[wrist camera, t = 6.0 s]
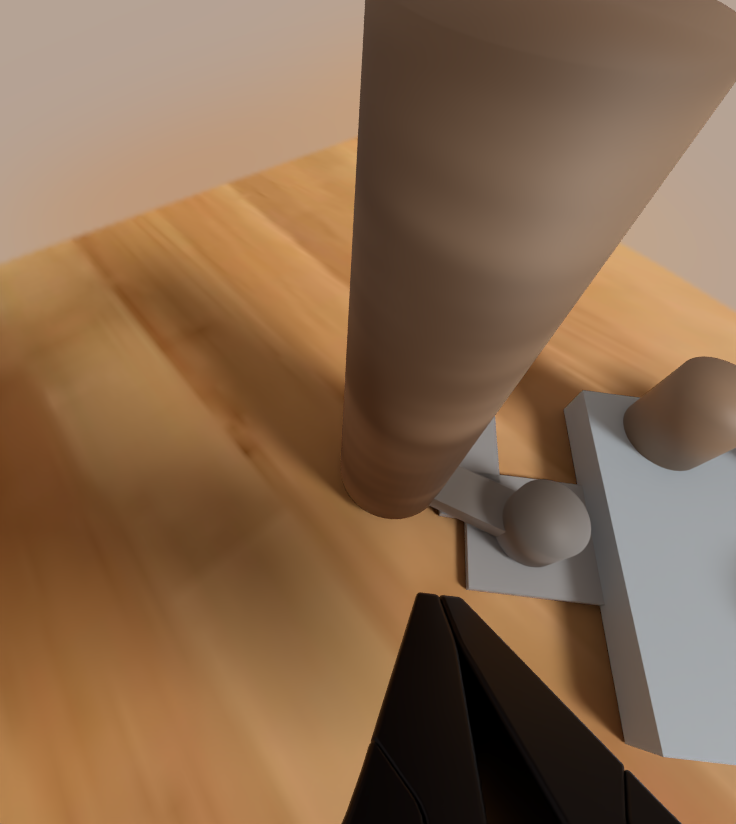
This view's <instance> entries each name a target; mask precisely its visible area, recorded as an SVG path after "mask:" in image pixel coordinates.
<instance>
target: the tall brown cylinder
mask: <svg viewBox="0 0 736 824" xmlns="http://www.w3.org/2000/svg"><path fill="white" fill-rule="evenodd" d="M735 82H736V12H735V11H734V10H732V9H731V8H729V7H728V6H726V5H724V4H723V3H721V2H719V1H717V0H365V15H364V35H363V53H362V71H361V90H360V109H359V129H358V147H357V165H356V184H355V203H354V222H353V241H352V260H351V278H350V297H349V316H348V335H347V354H346V372H345V391H344V410H343V429H342V448H341V477H342V481H343V484H344V487H345V489H346V491H347V492H348V494H349V496H350V497H351V498H352V499H353V501H354V502H355V503H356V504H357V505H358V506H360V507H361V508H362V509H364V510H365V511H367V512H369V513H371V514H373V515H375V516H378V517H382V518H388V519H402V518H407V517H411V516H414V515H416V514H418V513H420V512H421V511H423V510H425V509H426V508H427V507H428V506H431V507H434V508H436V509H438V510H440V511H442V512H444V513H446V514H449V515H451V516H453V517H455V518H457V519H459V520H461V521H464V522H466V523H468V524H470V525H472V526H474V527H476V528H479V529H481V530H483V531H485V532H487V533H489V534H492V535H494V536H496V539H497V541H498V543H499V545H500V546H501V548H502V549H503V550H504V552H505V553H506V554H507V555H508V556H509V557H511V558H512V559H513V560H515V561H516V562H518V563H520V564H522V565H525V566H528V567H544V566H547V565H550V564H553V563H555V562H558V561H561V560H564V559H567V558H569V557H572V556H575V555H577V554H579V553H580V552H581V551H583V549H584V548H585V547H586V546H587V544H588V542H589V540H590V536H591V522H590V518H589V514H588V512H587V510H586V508H585V506H584V504H583V503H582V501H581V500H580V499H579V498H578V496H577V495H576V494H575V493H573V492H572V491H571V490H570V489H569V488H567V487H566V486H564V485H562V484H560V483H558V482H555V481H552V480H546V479H537V480H533V481H530V482H527V483H526V484H524V485H523V486H522V487H520V488H519V489H518V490H517V491H514V490H512V489H510V488H508V487H505V486H503V485H501V484H499V483H496V482H494V481H492V480H490V479H487V478H485V477H483V476H481V475H478V474H476V473H474V472H472V471H469V470H467V469H465V468H463V467H460V466H459V465H460V463H461V462H462V461H463V459H464V458H465V456H466V455H467V454H468V452H469V451H470V449H471V448H472V447H473V445H474V444H475V443H476V441H477V440H478V438H479V437H480V436H481V434H482V433H483V431H484V430H485V429H486V427H487V426H488V425H489V423H490V422H491V420H492V419H493V418H494V416H495V415H496V413H497V412H498V411H499V409H500V408H501V406H502V405H503V404H504V402H505V401H506V400H507V398H508V397H509V395H510V394H511V393H512V391H513V390H514V388H515V387H516V386H517V384H518V383H519V382H520V380H521V379H522V377H523V376H524V375H525V373H526V372H527V370H528V369H529V368H530V366H531V365H532V363H533V362H534V361H535V359H536V358H537V357H538V355H539V354H540V352H541V351H542V350H543V348H544V347H545V345H546V344H547V343H548V341H549V340H550V339H551V337H552V336H553V334H554V333H555V332H556V330H557V329H558V327H559V326H560V325H561V323H562V322H563V320H564V319H565V318H566V316H567V315H568V314H569V312H570V311H571V309H572V308H573V307H574V305H575V304H576V302H577V301H578V300H579V298H580V297H581V296H582V294H583V293H584V291H585V290H586V289H587V287H588V286H589V284H590V283H591V282H592V280H593V279H594V278H595V276H596V275H597V273H598V272H599V271H600V269H601V268H602V266H603V265H604V264H605V262H606V261H607V259H608V258H609V257H610V255H611V254H612V253H613V251H614V250H615V248H616V247H617V246H618V244H619V243H620V241H621V240H622V239H623V237H624V236H625V235H626V233H627V232H628V230H629V229H630V227H631V226H632V225H633V223H634V222H635V221H636V219H637V218H638V216H639V215H640V214H641V212H642V211H643V209H644V208H645V207H646V205H647V204H648V203H649V201H650V200H651V198H652V197H653V196H654V194H655V193H656V191H657V190H658V189H659V187H660V186H661V185H662V183H663V182H664V180H665V179H666V178H667V176H668V175H669V173H670V172H671V171H672V169H673V168H674V167H675V165H676V164H677V162H678V161H679V160H680V158H681V157H682V155H683V154H684V153H685V151H686V150H687V148H688V147H689V145H690V144H691V143H692V142H693V140H694V139H695V137H696V136H697V135H698V133H699V132H700V130H701V129H702V128H703V126H704V125H705V124H706V122H707V121H708V119H709V118H710V117H711V115H712V114H713V112H714V111H715V110H716V108H717V107H718V105H719V104H720V103H721V101H722V100H723V99H724V97H725V96H726V94H727V93H728V92H729V90H730V89H731V87H732V86H733V85H734V83H735Z"/></svg>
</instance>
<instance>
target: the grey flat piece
mask: <svg viewBox="0 0 736 824" xmlns="http://www.w3.org/2000/svg"><path fill="white" fill-rule="evenodd" d="M564 414H565V420H566V425H567V430H568V436H569V441H570V447H571V452H572V458H573V463H574V468H575V474H576V479H577V484H569V483H561V482H558V483H560V484H562V485H564V486H566V487H567V488H569V489H570V490H571V491H572V492H573V493H575V494H576V495H577V496H578V498H579V499H580V500H581V501H582V503H583V504H584V506H585V508H586V510H587V512H588V514H589V518H590V522H591V536H590V540H589V542H588V544H587V546H586V547H585V548H584V549H583V551H581V552H580V553H579V554H577V555H575V556H572V557H569V558H567V559H564V560H561V561H558V562H555V563H553V564H550V565H547V566H544V567H528V566H525V565H522V564H520V563H518V562H516V561H515V560H513V559H512V558H511V557H509V556H508V555H507V554H506V553H505V552H504V550H503V549H502V548H501V546H500V545H499V543H498V541H497V539H496V536H494V535H492V534H489V533H487V532H485V531H483V530H481V529H479V528H476V527H474V526H472V525H470V524H468V523H466V522H464V524H465V562H466V590H474V591H482V592H490V593H499V594H507V595H515V596H523V597H532V598H540V599H548V600H557V601H565V602H573V603H581V604H590V605H598V606H600V609H601V615H602V620H603V626H604V631H605V637H606V642H607V647H608V653H609V658H610V664H611V669H612V675H613V680H614V685H615V691H616V696H617V702H618V707H619V713H620V718H621V723H622V729H623V734H624V740H625V744H628V745H630V746H633V747H636V748H639V749H642V750H645V751H648V752H651V753H654V754H657V755H660V756H662V757H669V758H678V759H687V760H695V761H704V762H713V763H722V764H730V765H736V365H734V364H732V363H730V362H727V361H724V360H721V359H718V358H713V357H695V358H692V359H690V360H688V361H686V362H685V363H684V364H683V365H681V366H680V367H679V368H677V369H676V370H675V371H674V372H672V373H671V374H670V375H669V376H667V377H666V378H665V379H664V380H662V381H661V382H660V383H659V384H657V385H656V386H655V387H653V388H652V389H651V390H650V391H648V392H647V393H646V394H645V395H643V396H642V397H641V398H639V397H631V396H623V395H616V394H608V393H600V392H593V391H585V390H582V391H581V392H580V393H579V394H578V395H577V396H576V397H575V398H574V399H573V400H572V401H571V402H570V404H569V405H568V406H567V407H566V408H565V409H564ZM459 466H460V467H463V468H465V469H467V470H469V471H472V472H474V473H476V474H478V475H481V476H483V477H485V478H487V479H490V480H492V481H494V482H496V483H499V484H501V485H503V486H505V487H508V488H510V489H512V490H514V491H517V490H518V489H519V488H520V487H522V486H523V485H524V484H526V483H527V482H530V481H533V480H537V479H530V478H522V477H514V476H506V475H499V462H498V449H497V436H496V423H495V416H494V418H493V419H492V420H491V422H490V423H489V425H488V426H487V427H486V429H485V430H484V431H483V433H482V434H481V436H480V437H479V438H478V440H477V441H476V443H475V444H474V445H473V447H472V448H471V449H470V451H469V452H468V454H467V455H466V456H465V458H464V459H463V461H462V462H461V463H460V465H459ZM439 516H443V517H451V518H455V517H453V516H451V515H449V514H446V513H444V512H442V511H440V510H439Z"/></svg>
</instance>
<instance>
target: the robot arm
mask: <svg viewBox="0 0 736 824" xmlns="http://www.w3.org/2000/svg"><path fill="white" fill-rule="evenodd" d="M342 824H681V823H680V822H679V821H678V820H677V819H676V818H675V817H674V816H673V815H672V814H671V813H670V812H669V811H668V810H667V809H666V808H665V807H664V806H663V805H662V804H661V803H660V802H659V801H658V800H657V799H656V798H655V797H654V796H653V794H652V793H651V792H650V791H649V790H648V789H647V788H646V787H645V786H644V785H643V784H642V783H641V782H640V781H639V780H638V779H637V778H636V777H635V776H634V775H633V774H632V773H631V772H630V771H629V770H625V771H624V766H623V764H622V763H621V762H620V761H619V760H618V759H617V758H616V757H615V756H614V755H613V754H612V753H611V752H610V750H609V749H608V748H607V747H606V746H605V745H604V744H603V743H602V742H601V741H600V740H599V739H598V738H597V737H596V736H595V735H594V734H593V733H592V732H591V731H590V730H589V729H588V728H587V727H586V726H585V725H584V724H583V723H582V722H581V721H580V720H579V719H578V718H577V716H576V715H575V714H574V713H573V712H572V711H571V710H570V709H569V708H568V707H567V706H566V705H565V704H564V703H563V702H562V701H561V700H560V699H559V698H558V697H557V696H556V695H555V694H554V693H553V692H552V691H551V690H550V689H549V688H548V687H547V686H546V685H545V684H544V682H543V681H542V680H541V679H540V678H539V677H538V676H537V675H536V674H535V673H534V672H533V671H532V670H531V669H530V668H529V667H528V666H527V665H526V664H525V663H524V662H523V661H522V660H521V659H520V658H519V657H518V656H517V655H516V654H515V653H514V652H513V651H512V650H511V648H510V647H509V646H508V645H507V644H506V643H505V642H504V641H503V640H502V639H501V638H500V637H499V636H498V635H497V634H496V633H495V632H494V631H493V630H492V629H491V628H490V627H489V626H488V625H487V624H486V623H485V622H484V621H483V620H482V619H481V618H480V617H479V616H478V615H477V613H476V612H475V611H474V610H473V609H472V608H471V607H470V606H469V605H468V604H467V603H466V602H465V601H464V600H463V599H462V598H460V597H454V596H446V595H441V596H440V597H439V596H438V595H436V594H429V593H418V594H417V595H416V598H415V601H414V604H413V607H412V611H411V614H410V617H409V620H408V623H407V627H406V630H405V633H404V636H403V639H402V642H401V646H400V649H399V652H398V655H397V658H396V662H395V665H394V668H393V671H392V674H391V678H390V681H389V684H388V687H387V690H386V694H385V697H384V700H383V703H382V706H381V710H380V713H379V716H378V719H377V722H376V726H375V729H374V732H373V735H372V738H371V743H370V744H369V747H368V750H367V753H366V757H365V760H364V763H363V766H362V769H361V772H360V775H359V778H358V781H357V784H356V787H355V789H354V792H353V795H352V798H351V801H350V804H349V806H348V809H347V812H346V815H345V817H344V819H343V822H342Z"/></svg>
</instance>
